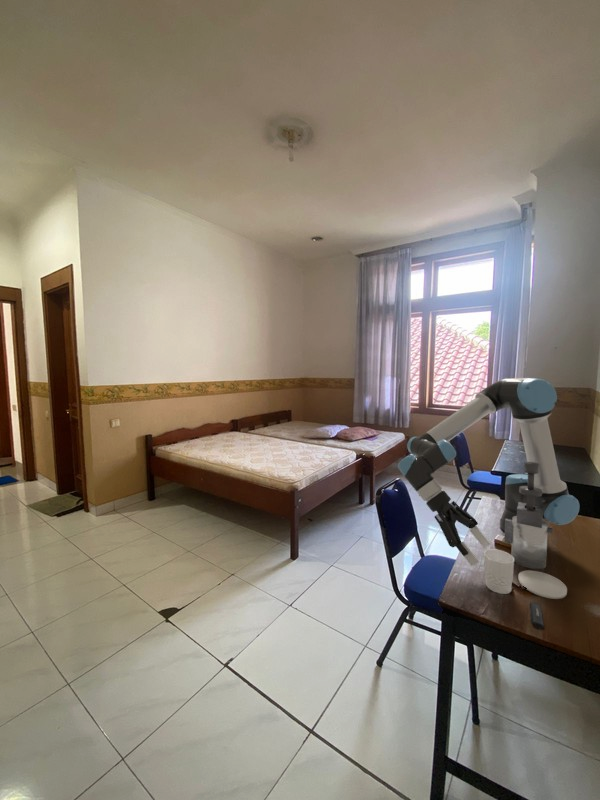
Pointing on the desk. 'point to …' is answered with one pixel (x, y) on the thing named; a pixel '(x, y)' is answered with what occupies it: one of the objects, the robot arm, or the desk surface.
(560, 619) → the desk surface
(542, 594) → the saucer
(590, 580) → the desk surface
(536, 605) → the usb stick
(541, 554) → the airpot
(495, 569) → the white cup
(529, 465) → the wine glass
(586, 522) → the desk surface
